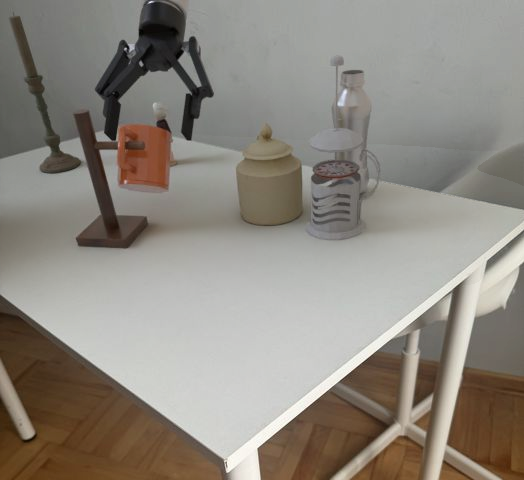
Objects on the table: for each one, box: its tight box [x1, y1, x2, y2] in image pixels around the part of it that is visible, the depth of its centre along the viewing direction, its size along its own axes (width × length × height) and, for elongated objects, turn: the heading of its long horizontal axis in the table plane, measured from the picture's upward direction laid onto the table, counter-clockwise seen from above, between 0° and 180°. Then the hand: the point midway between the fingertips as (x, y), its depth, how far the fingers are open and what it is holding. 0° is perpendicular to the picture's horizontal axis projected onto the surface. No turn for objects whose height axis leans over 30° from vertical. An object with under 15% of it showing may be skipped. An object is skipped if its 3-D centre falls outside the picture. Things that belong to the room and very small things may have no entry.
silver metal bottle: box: [331, 69, 372, 195], centre depth 92 cm, size 6×7×20 cm
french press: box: [305, 54, 382, 241], centre depth 80 cm, size 10×12×25 cm
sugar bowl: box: [235, 122, 304, 226], centre depth 91 cm, size 15×11×15 cm
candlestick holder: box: [8, 11, 81, 174], centre depth 113 cm, size 9×9×30 cm
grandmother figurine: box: [152, 101, 178, 167], centre depth 114 cm, size 8×4×13 cm, turn 37°
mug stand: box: [72, 108, 149, 249], centre depth 85 cm, size 14×9×20 cm, turn 77°
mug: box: [116, 123, 172, 194], centre depth 85 cm, size 12×8×9 cm
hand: (147, 137), depth 88 cm, fingers open, 13 cm apart
